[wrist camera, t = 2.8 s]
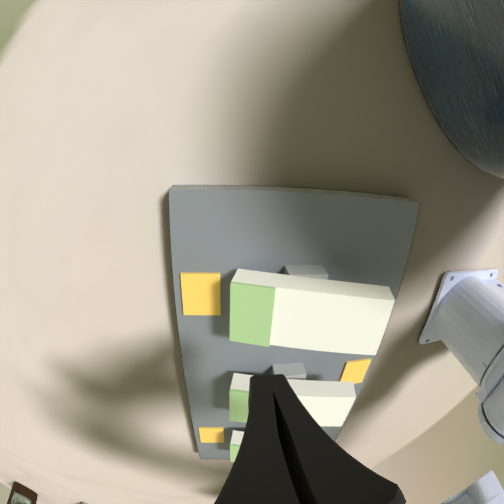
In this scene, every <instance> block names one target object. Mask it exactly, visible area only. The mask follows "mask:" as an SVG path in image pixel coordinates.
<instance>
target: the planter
mask: <svg viewBox="0 0 504 504" xmlns="http://www.w3.org/2000/svg"><path fill="white" fill-rule="evenodd" d="M400 15H401V23H402V29H403V34H404V38H405V42H406V46H407V50H408V53H409V56H410V60H411V63H412V65H413V68H414V71H415V74H416V76H417V79H418V82H419V84H420V86H421V89H422V91H423V93H424V95H425V98H426V100H427V102H428V104H429V106H430V108H431V110H432V112H433V114H434V115H435V117H436V119H437V121H438V123H439V124H440V126H441V128H442V129H443V131H444V132H445V134H446V135H447V137H448V138H449V140H450V141H451V142H452V144H453V145H454V146H455V147H456V149H457V150H458V151H459V152H460V153H461V154H462V155H463V156H464V157H465V158H466V159H467V160H468V161H469V162H470V163H471V164H473V165H474V166H476V167H477V168H479V169H480V170H482V171H484V172H487V173H489V174H491V175H494V176H497V177H500V178H502V179H504V0H400Z"/></svg>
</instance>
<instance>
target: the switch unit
mask: <svg viewBox="0 0 504 504" xmlns="http://www.w3.org/2000/svg"><path fill="white" fill-rule="evenodd" d="M419 206H420V203H418V202H416V201H414V200H412V199H410V198H405V197H397V196H388V195H379V194H370V193H359V192H348V191H337V190H324V189H309V188H292V187H271V186H240V185H173V186H172V187H171V188H170V189H169V216H170V238H171V255H172V270H173V282H174V294H175V304H176V314H177V323H178V332H179V340H180V348H181V355H182V362H183V369H184V376H185V382H186V388H187V394H188V400H189V406H190V412H191V417H192V422H193V427H194V432H195V437H196V442H197V447H198V451H199V456H200V459H230V443H231V438H232V433H233V430H235V431H242V432H244V431H245V427H246V423H243V422H236V421H230V397H229V391H230V386H231V382H232V378H233V374H234V373H238V374H246V375H254V376H256V375H274V374H283V375H285V377H286V379H297V380H314V381H341V382H353V383H354V388H355V394H356V399H355V401H354V403H353V405H352V407H351V409H350V411H349V413H348V415H347V417H346V419H345V421H344V423H343V425H342V426H320V427H321V428H322V429H323V430H324V431H325V432H326V433H327V434H328V435H329V436H330V438H331V439H333V440H334V441H335V440H336V439H337V437H338V435H339V433H340V431H341V429H342V428H343V426H344V424H345V422H346V420H347V418H348V416H349V414H350V412H351V410H352V408H353V406H354V404H355V402H356V400H357V398H358V396H359V394H360V391H361V389H362V387H363V385H364V383H365V380H366V378H367V376H368V374H369V371H370V369H371V367H372V364H373V362H374V359H375V357H376V355H362V354H348V353H336V352H325V351H316V350H306V349H298V348H290V347H282V346H275V345H269V347H266V346H260V345H253V344H247V343H241V342H235V341H230V283H231V281H232V279H233V277H234V275H235V273H236V271H237V270H238V269H245V270H253V271H261V272H269V273H277V274H285V275H293V276H301V277H309V278H318V279H326V280H335V281H344V282H353V283H362V284H371V285H380V286H389V288H390V290H391V292H392V295H393V297H394V299H395V302H396V298H397V295H398V292H399V289H400V285H401V282H402V278H403V275H404V271H405V268H406V264H407V260H408V256H409V252H410V248H411V244H412V240H413V235H414V231H415V226H416V222H417V217H418V211H419ZM394 305H395V303H394ZM393 308H394V306H393ZM392 311H393V309H392ZM391 314H392V312H391ZM390 317H391V315H390ZM389 320H390V318H389ZM388 322H389V321H388ZM387 325H388V324H387ZM386 328H387V326H386ZM385 331H386V329H385ZM384 334H385V332H384ZM383 336H384V335H383ZM382 339H383V337H382ZM381 342H382V340H381ZM380 344H381V343H380ZM379 347H380V345H379ZM378 349H379V348H378ZM377 352H378V350H377ZM376 354H377V353H376Z"/></svg>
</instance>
